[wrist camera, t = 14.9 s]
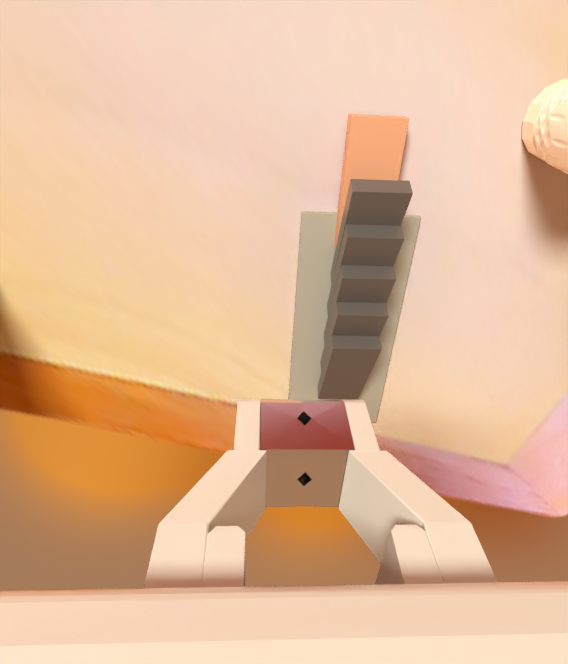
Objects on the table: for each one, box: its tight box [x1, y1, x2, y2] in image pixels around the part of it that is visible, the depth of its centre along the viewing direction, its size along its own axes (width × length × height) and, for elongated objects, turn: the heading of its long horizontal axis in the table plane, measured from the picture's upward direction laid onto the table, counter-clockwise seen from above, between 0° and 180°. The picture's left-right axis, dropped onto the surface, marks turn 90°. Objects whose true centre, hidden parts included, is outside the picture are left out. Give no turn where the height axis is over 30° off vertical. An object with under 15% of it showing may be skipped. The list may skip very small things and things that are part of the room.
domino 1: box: [334, 114, 409, 248], centre depth 41 cm, size 5×2×12 cm
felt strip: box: [288, 211, 421, 422], centre depth 51 cm, size 12×28×1 cm, turn 177°
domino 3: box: [327, 224, 404, 315], centre depth 43 cm, size 5×2×12 cm
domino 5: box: [320, 302, 388, 372], centre depth 47 cm, size 5×2×12 cm
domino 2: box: [330, 179, 413, 285], centre depth 41 cm, size 5×2×12 cm
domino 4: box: [324, 265, 396, 346], centre depth 45 cm, size 5×2×12 cm
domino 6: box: [317, 335, 382, 399], centre depth 49 cm, size 5×2×12 cm
